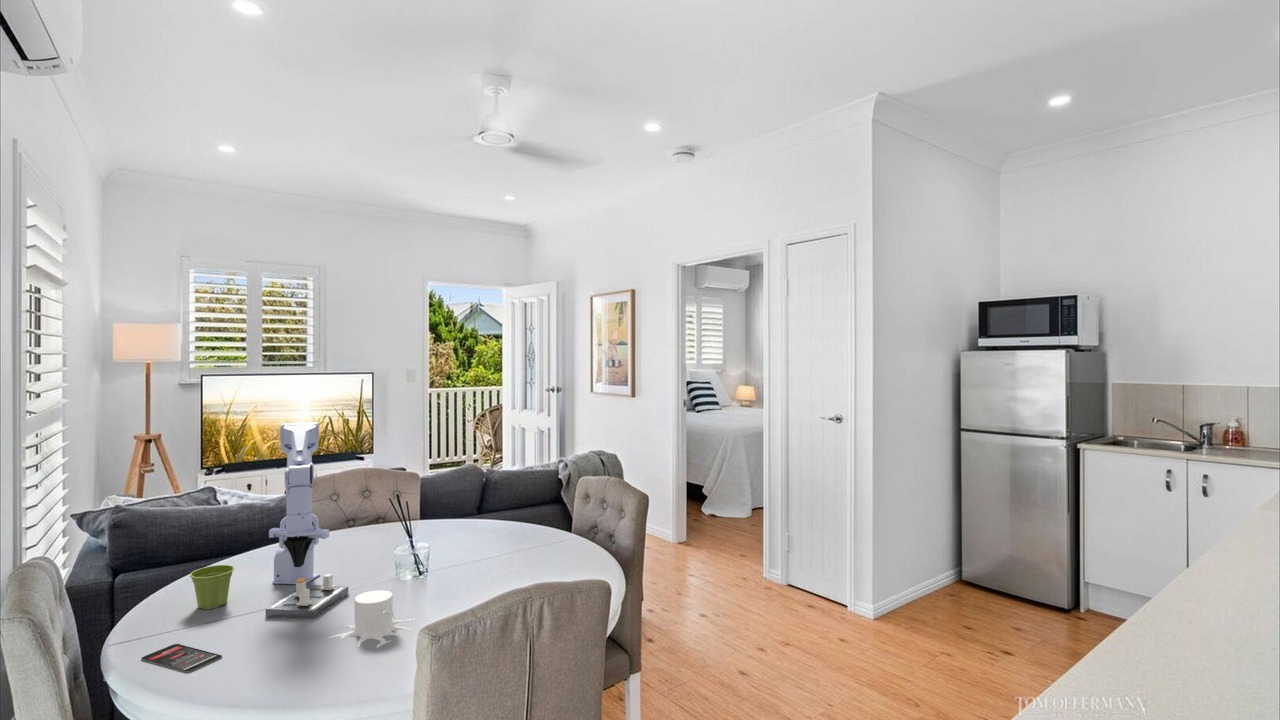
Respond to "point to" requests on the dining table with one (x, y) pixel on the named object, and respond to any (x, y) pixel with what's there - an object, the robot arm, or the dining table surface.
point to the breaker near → (304, 597)
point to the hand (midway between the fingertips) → (299, 565)
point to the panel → (319, 604)
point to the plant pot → (212, 585)
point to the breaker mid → (300, 586)
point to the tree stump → (373, 617)
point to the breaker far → (327, 582)
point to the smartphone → (181, 658)
